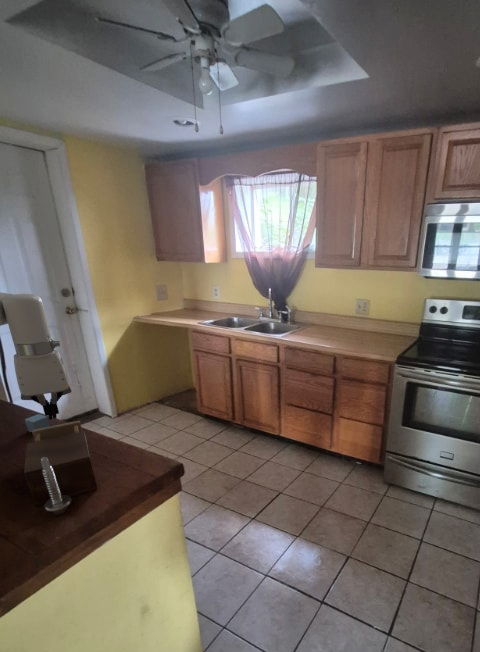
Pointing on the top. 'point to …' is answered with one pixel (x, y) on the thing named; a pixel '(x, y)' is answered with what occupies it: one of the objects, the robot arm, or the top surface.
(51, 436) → the drawer
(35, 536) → the top surface
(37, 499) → the cabinet
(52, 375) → the robot arm
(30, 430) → the block
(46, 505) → the screw
